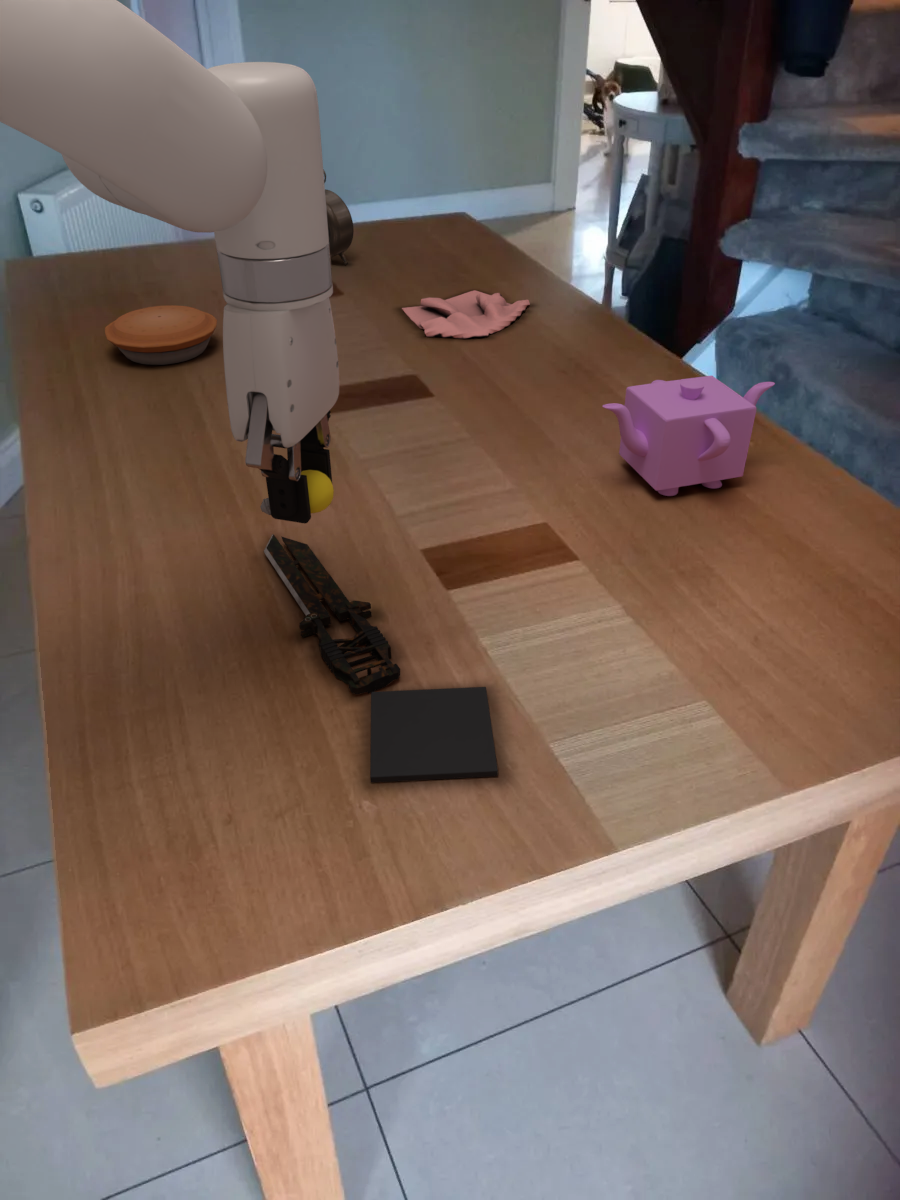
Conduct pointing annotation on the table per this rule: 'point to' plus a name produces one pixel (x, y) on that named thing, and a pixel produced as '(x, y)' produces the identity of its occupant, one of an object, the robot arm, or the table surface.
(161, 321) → the pie
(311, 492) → the light bulb
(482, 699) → the coaster
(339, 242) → the alarm clock
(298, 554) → the knife
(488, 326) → the cloth
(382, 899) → the table surface
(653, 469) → the teapot
